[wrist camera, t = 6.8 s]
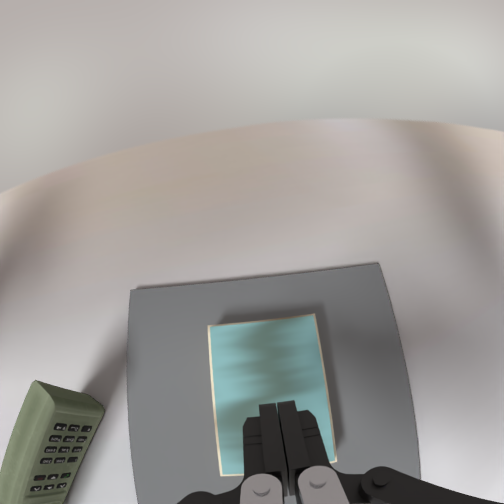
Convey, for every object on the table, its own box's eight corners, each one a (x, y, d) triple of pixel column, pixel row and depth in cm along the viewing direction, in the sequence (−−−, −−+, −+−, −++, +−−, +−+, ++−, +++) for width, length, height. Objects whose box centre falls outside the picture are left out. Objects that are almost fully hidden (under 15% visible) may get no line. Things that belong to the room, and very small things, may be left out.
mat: (151, 550, 11) (148, 552, 10) (133, 292, 22) (130, 289, 21) (417, 516, 11) (420, 518, 11) (376, 266, 22) (378, 263, 22)
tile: (219, 477, 13) (206, 324, 18) (223, 470, 15) (211, 332, 20) (338, 462, 13) (315, 312, 18) (331, 457, 15) (311, 321, 20)
